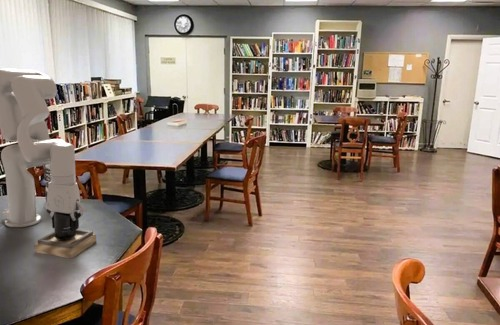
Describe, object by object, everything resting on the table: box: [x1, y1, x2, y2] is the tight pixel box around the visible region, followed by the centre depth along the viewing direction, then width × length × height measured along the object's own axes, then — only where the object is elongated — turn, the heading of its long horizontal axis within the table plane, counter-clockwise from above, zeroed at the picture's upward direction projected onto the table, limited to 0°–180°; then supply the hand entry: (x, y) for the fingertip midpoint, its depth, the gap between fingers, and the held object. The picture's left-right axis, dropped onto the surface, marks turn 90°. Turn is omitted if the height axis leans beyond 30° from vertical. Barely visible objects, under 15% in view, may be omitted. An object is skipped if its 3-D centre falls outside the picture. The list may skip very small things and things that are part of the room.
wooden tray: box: [33, 228, 97, 259], centre depth 134 cm, size 14×14×4 cm
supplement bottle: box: [53, 212, 76, 240], centre depth 132 cm, size 7×7×12 cm
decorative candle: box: [42, 163, 51, 203], centre depth 172 cm, size 9×9×25 cm
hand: (65, 227), depth 133 cm, fingers closed on supplement bottle, 6 cm apart
